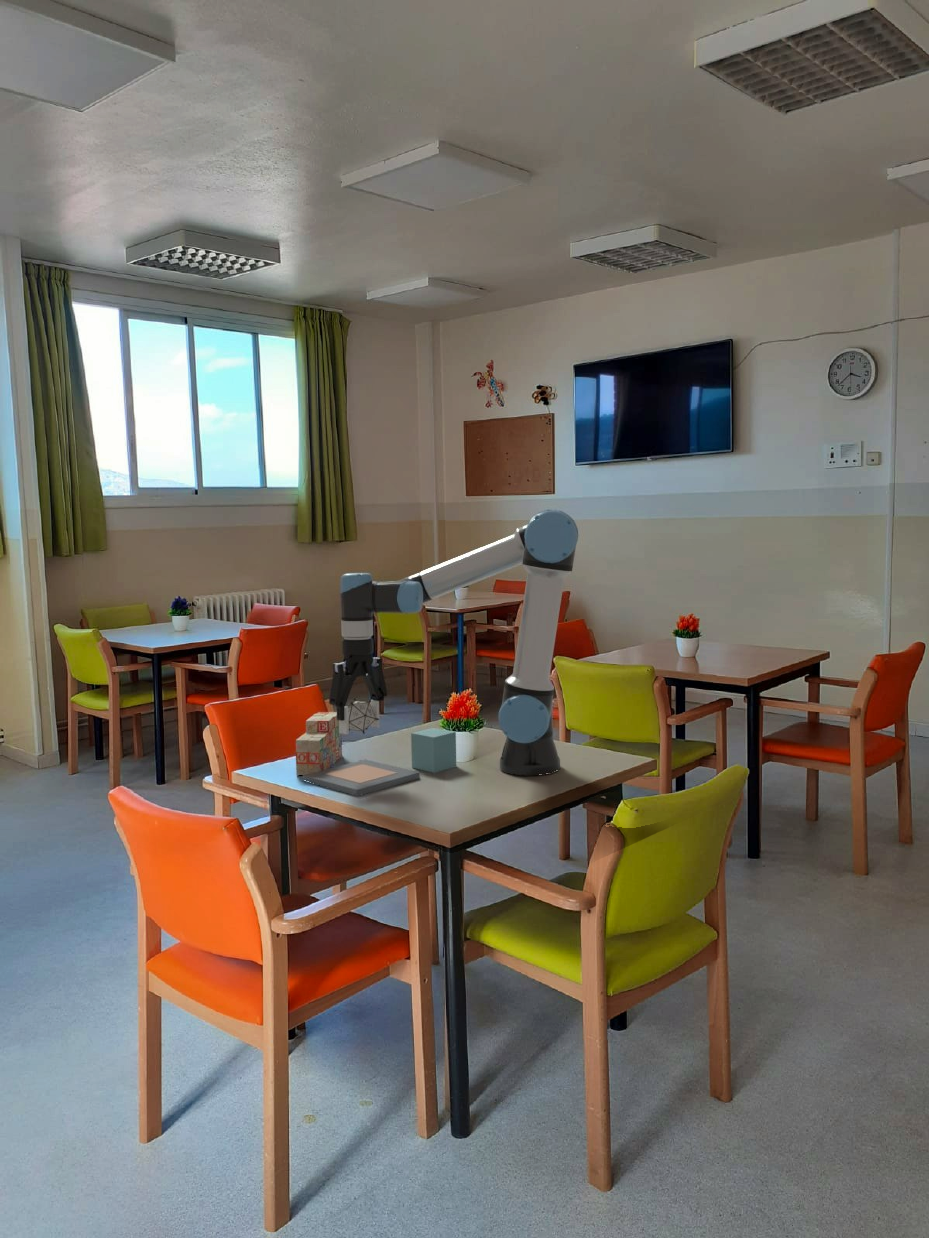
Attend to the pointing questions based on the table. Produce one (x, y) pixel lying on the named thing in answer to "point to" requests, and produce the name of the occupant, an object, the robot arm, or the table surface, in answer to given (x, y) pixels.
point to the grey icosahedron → (360, 715)
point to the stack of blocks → (319, 744)
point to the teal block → (433, 749)
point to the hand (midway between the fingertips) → (359, 729)
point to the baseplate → (361, 777)
